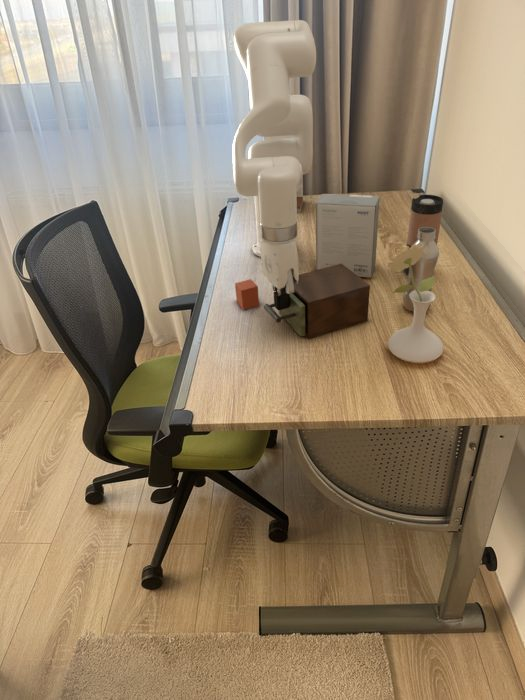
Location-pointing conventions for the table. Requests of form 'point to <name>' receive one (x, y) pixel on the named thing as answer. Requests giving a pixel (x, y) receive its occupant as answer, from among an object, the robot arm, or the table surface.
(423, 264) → the metal bottle
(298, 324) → the drawer
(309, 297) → the cabinet
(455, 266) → the table surface
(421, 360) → the flower in vase
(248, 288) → the block
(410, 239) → the travel mug
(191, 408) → the table surface
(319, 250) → the hard drive box
